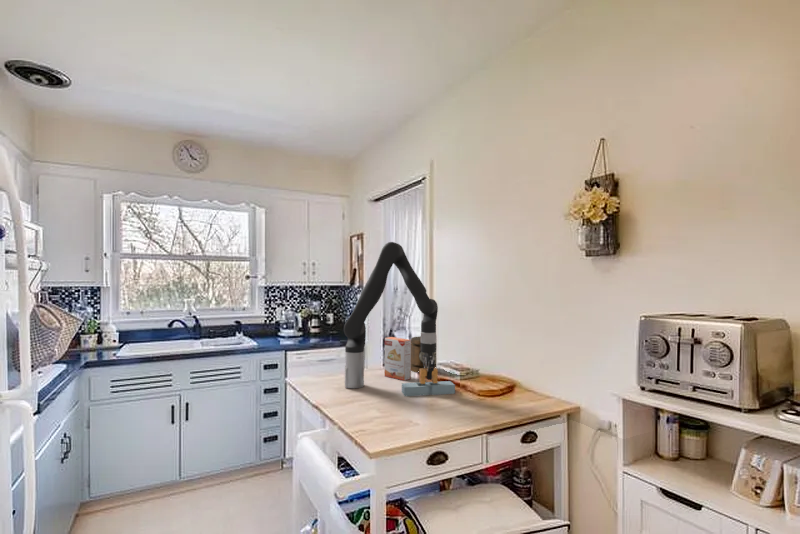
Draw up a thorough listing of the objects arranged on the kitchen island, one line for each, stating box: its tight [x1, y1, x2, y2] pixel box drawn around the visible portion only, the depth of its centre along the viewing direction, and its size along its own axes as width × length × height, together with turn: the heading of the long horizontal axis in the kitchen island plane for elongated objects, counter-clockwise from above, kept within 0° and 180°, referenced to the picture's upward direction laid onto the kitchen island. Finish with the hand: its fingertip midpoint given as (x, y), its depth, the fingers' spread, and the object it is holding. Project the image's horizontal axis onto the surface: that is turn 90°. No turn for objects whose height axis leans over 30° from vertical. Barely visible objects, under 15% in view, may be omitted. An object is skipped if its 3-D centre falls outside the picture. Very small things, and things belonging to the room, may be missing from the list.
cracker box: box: [384, 336, 412, 381], centre depth 226 cm, size 14×6×21 cm, turn 50°
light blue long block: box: [401, 380, 456, 397], centre depth 199 cm, size 24×7×4 cm, turn 102°
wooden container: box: [410, 335, 437, 373], centre depth 243 cm, size 15×15×22 cm
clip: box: [418, 367, 439, 384], centre depth 199 cm, size 8×3×6 cm, turn 102°
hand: (428, 378), depth 199 cm, fingers closed on clip, 3 cm apart
